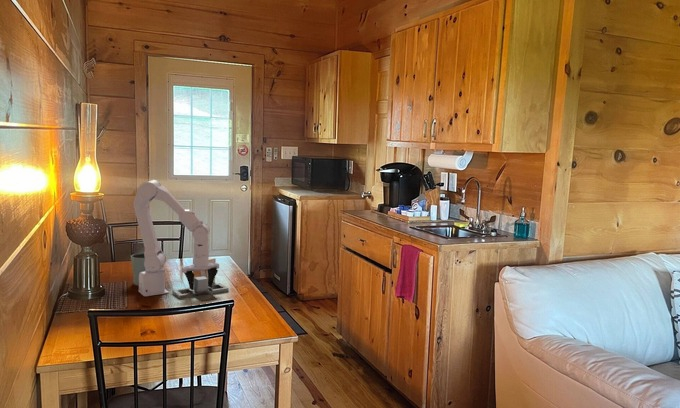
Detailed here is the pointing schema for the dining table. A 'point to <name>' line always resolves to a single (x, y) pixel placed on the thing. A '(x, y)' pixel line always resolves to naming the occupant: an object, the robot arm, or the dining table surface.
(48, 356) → the dining table surface
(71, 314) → the dining table surface
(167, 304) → the dining table surface
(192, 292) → the grey slotted plate
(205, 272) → the small box
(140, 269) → the green bin
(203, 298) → the pad
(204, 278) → the block
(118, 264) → the dining table surface
